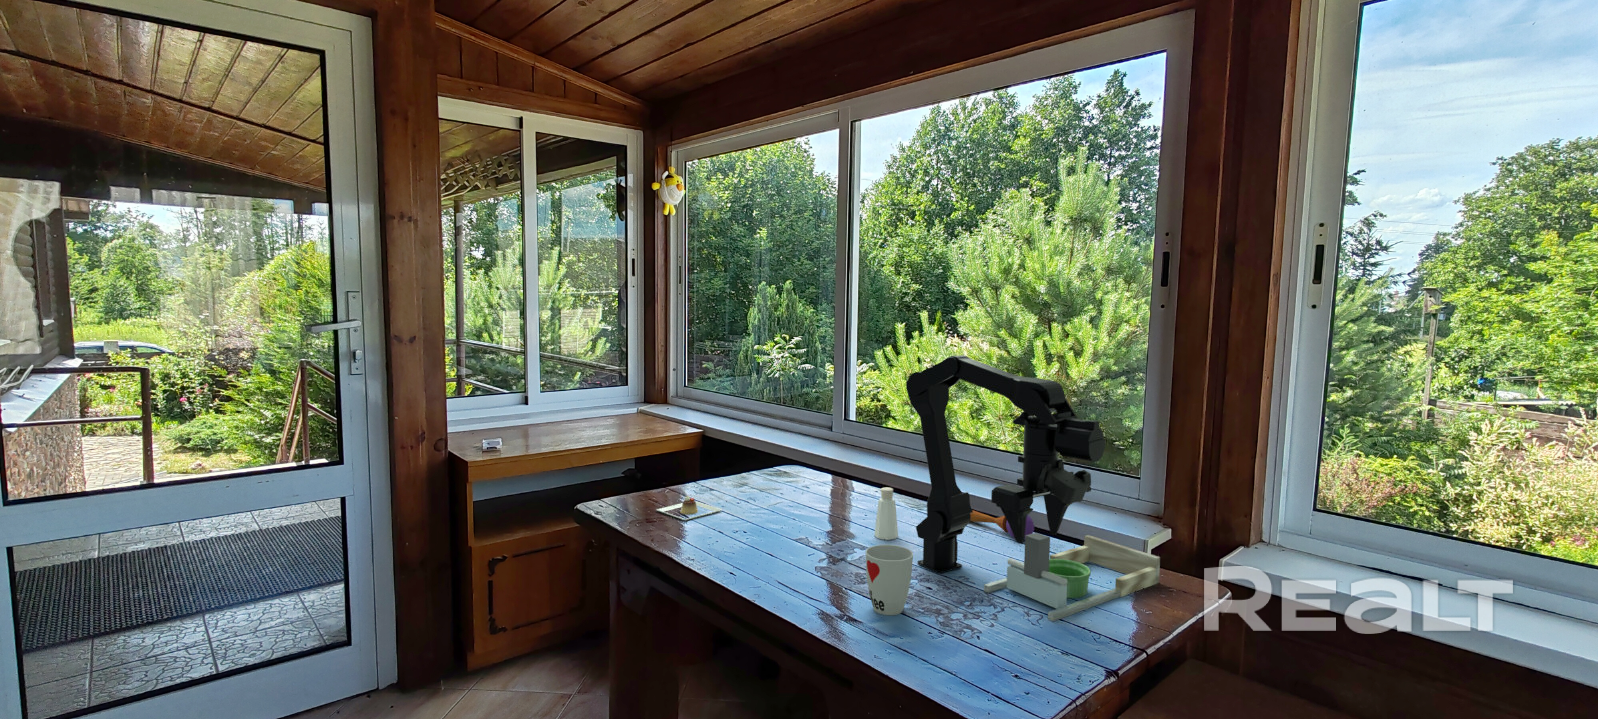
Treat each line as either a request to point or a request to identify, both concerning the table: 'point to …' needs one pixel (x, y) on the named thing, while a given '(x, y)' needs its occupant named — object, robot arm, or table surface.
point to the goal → (1110, 555)
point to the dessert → (689, 508)
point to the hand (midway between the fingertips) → (1037, 538)
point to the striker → (1037, 573)
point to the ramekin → (1071, 576)
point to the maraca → (1002, 522)
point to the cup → (888, 577)
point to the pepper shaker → (886, 516)
